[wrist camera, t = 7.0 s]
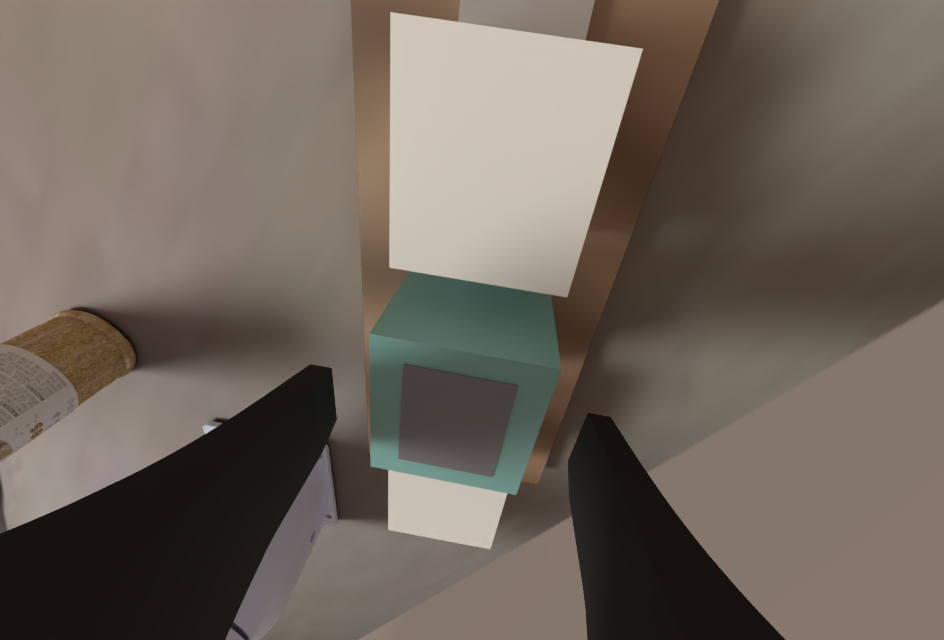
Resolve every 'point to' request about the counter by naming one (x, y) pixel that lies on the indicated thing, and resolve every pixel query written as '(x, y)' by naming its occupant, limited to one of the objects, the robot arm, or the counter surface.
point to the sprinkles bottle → (56, 373)
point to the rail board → (622, 191)
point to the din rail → (531, 15)
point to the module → (461, 380)
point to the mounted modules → (493, 187)
